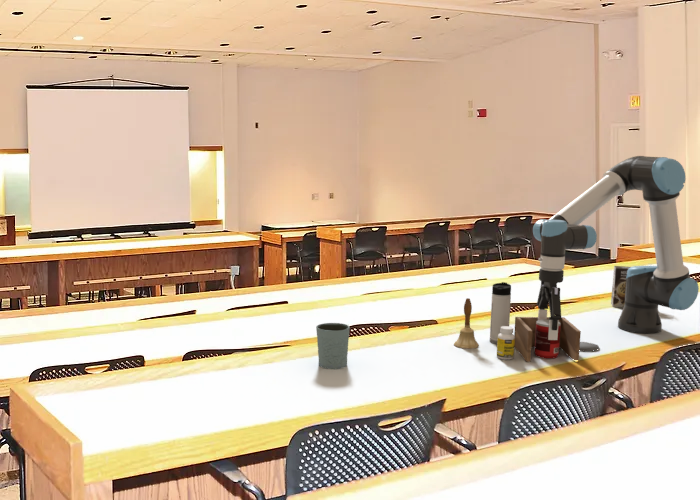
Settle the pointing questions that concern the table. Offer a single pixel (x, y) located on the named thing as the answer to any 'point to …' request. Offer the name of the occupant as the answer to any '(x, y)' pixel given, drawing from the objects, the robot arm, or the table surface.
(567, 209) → the robot arm
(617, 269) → the coffee box
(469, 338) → the hand bell
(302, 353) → the table surface
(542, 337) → the canned food
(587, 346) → the slate coaster
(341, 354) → the grey-green cup
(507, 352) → the supplement bottle
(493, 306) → the travel mug
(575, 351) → the walnut u-shaped bracket
